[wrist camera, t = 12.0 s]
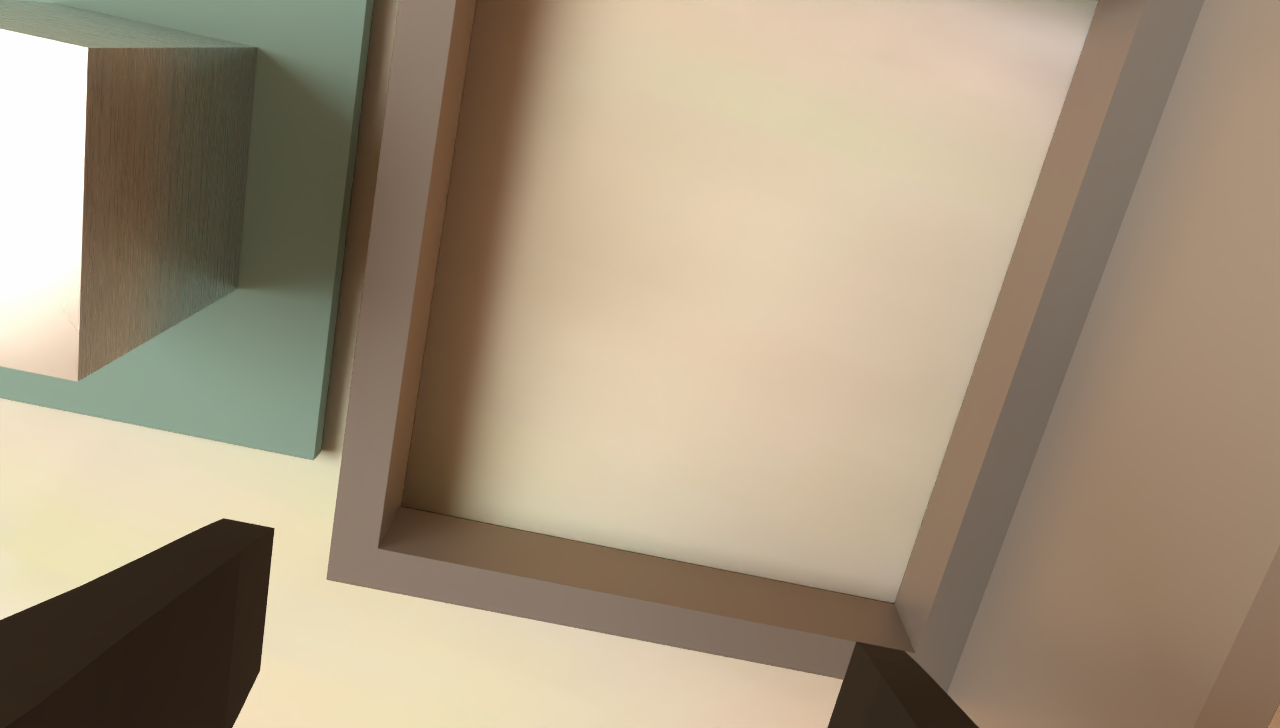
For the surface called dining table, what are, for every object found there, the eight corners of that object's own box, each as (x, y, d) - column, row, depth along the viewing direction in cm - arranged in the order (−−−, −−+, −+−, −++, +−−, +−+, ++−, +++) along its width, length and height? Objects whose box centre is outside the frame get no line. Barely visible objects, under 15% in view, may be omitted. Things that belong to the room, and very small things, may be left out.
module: (237, 288, 21) (78, 382, 15) (48, 249, 20) (-187, 329, 15) (258, 46, 19) (87, 48, 13) (53, 2, 19) (-208, -16, 13)
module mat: (320, 451, 22) (313, 460, 22) (-31, 381, 22) (-46, 388, 21) (387, -111, 19) (380, -115, 18) (-34, -207, 18) (-53, -214, 18)
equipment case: (961, 654, 24) (1132, 996, 15) (353, 535, 23) (174, 825, 14) (1217, -35, 19) (1684, -102, 10) (453, -214, 18) (271, -448, 10)
